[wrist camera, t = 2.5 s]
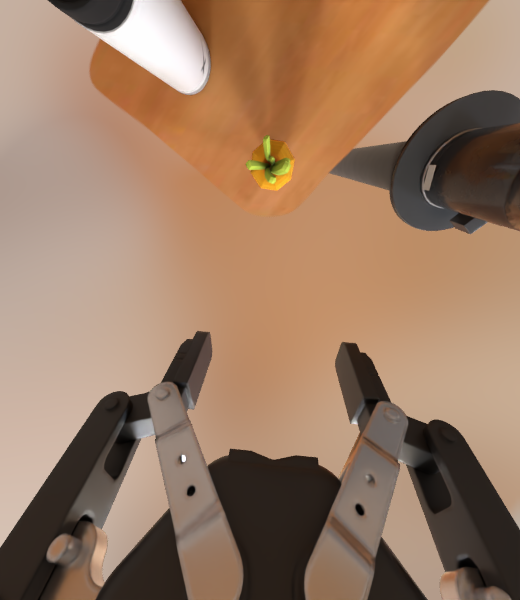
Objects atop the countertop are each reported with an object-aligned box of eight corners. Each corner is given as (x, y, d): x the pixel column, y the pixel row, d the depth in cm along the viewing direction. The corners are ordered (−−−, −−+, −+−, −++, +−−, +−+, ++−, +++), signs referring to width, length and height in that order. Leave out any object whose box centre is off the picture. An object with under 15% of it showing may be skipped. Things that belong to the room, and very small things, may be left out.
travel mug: (223, 67, 27) (129, -88, 10) (186, 107, 29) (60, 38, 12) (188, 2, 24) (-20, -358, 7) (150, 52, 26) (-72, -132, 10)
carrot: (251, 171, 32) (233, 178, 20) (268, 135, 30) (260, 118, 17) (279, 190, 34) (278, 208, 21) (297, 157, 31) (310, 155, 19)
